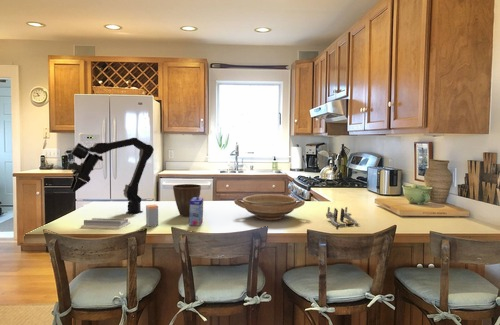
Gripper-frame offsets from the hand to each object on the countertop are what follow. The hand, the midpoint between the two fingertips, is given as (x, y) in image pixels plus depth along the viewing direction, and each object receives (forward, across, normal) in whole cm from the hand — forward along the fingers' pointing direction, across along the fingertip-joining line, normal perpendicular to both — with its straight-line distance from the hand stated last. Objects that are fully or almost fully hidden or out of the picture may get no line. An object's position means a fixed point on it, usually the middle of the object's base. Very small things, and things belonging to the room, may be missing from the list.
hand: (71, 190), depth 186 cm
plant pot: (-16, +22, +53) cm, 60 cm away
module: (-4, +34, +34) cm, 48 cm away
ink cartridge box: (-14, +42, +50) cm, 67 cm away
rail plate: (+6, +22, +18) cm, 29 cm away
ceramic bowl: (-35, +50, +82) cm, 102 cm away
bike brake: (-46, +81, +101) cm, 137 cm away
